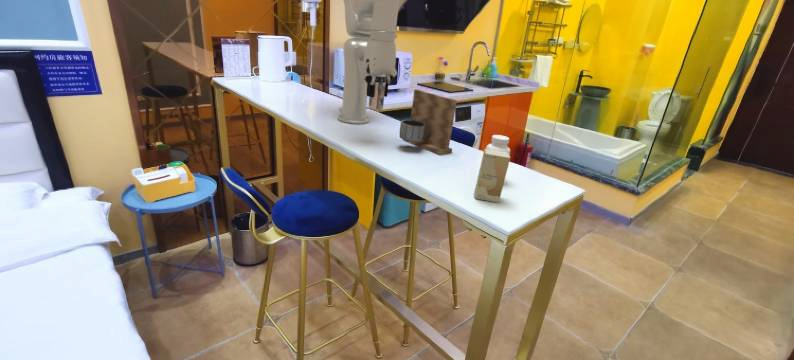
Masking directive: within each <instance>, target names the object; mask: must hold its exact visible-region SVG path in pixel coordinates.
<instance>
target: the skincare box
mask: <svg viewBox="0 0 794 360" xmlns="http://www.w3.org/2000/svg"><path fill="white" fill-rule="evenodd" d="M481 157H482V158H481V162H480V166H479V169H478V170H479V171H478V175H477V180H476V182H475V183H476V184H475V188H474V193H473V194H474V198H475V199H476V200H482V201H488V202H494V203H499V202H500V199H501V197H502V196H501V195H502V191H503V188H504V183H505V180H506V175H507V172H508V168H509V165H510V161H511V155H509V153H507V152H501V151H496V150H489V149H486V148H484V149H483V152H482V156H481Z"/></svg>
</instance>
